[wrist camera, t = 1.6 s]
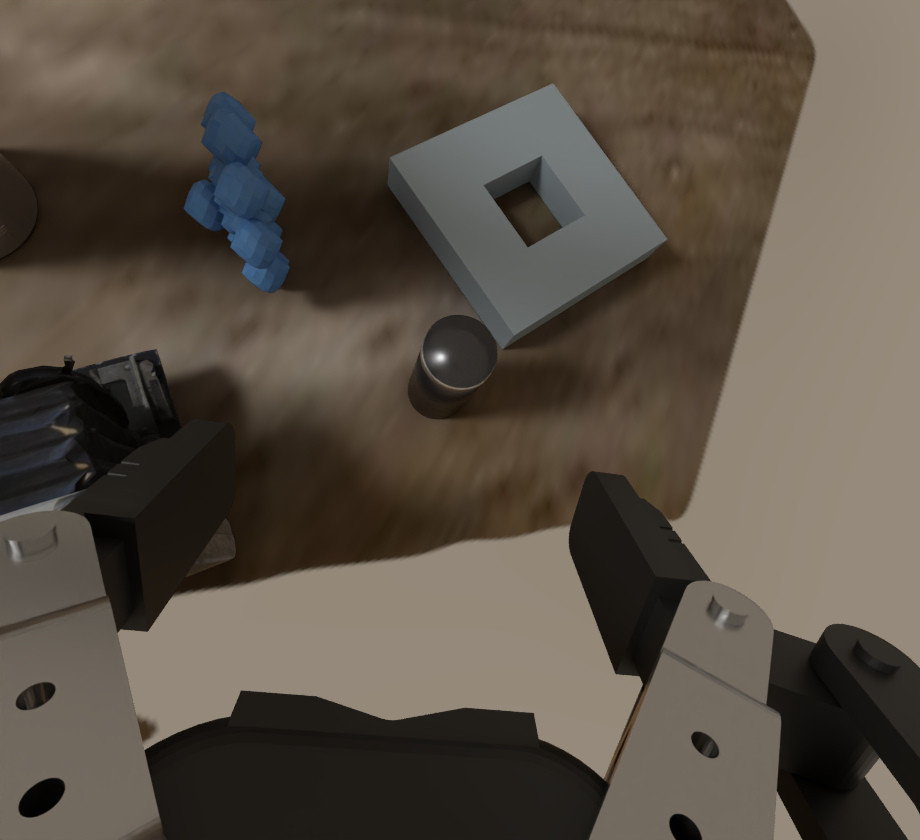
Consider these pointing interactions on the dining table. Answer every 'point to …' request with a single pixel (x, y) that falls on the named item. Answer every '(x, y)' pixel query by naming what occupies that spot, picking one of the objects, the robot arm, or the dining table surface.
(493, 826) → the robot arm
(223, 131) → the grapes
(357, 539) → the dining table surface
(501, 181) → the holder
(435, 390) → the metal cylinder
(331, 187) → the dining table surface
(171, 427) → the vintage camera
